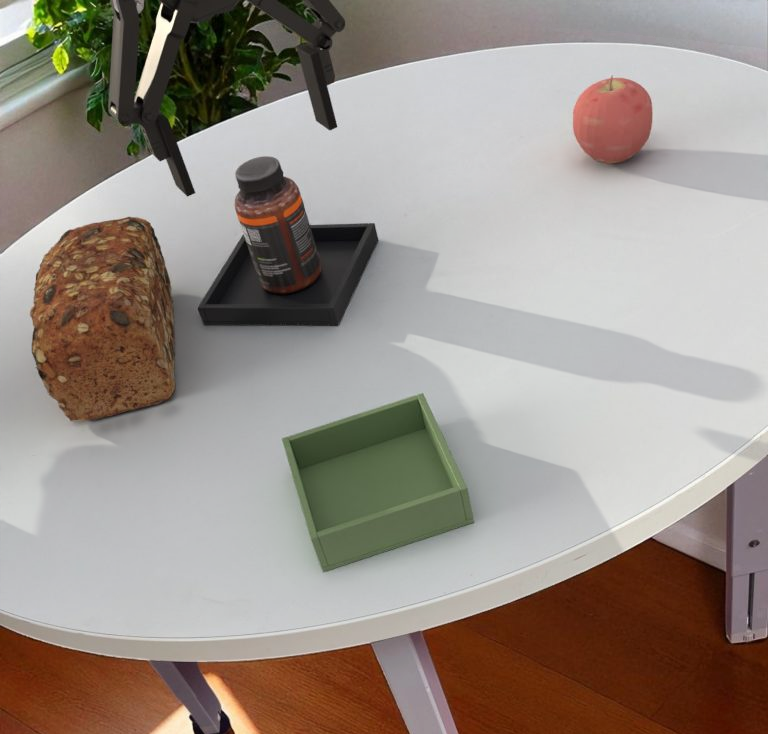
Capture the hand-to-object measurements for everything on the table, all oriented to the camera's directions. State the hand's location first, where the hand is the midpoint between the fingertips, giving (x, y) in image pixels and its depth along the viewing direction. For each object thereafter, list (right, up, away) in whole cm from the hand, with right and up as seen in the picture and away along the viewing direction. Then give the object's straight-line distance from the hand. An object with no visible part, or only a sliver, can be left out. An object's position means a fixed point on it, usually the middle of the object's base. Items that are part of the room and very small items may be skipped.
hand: (257, 156), depth 91 cm
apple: (+33, +4, +13) cm, 36 cm away
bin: (+10, -29, -13) cm, 33 cm away
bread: (-13, -16, +6) cm, 21 cm away
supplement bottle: (+2, -9, +9) cm, 13 cm away
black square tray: (+2, -9, +9) cm, 13 cm away
